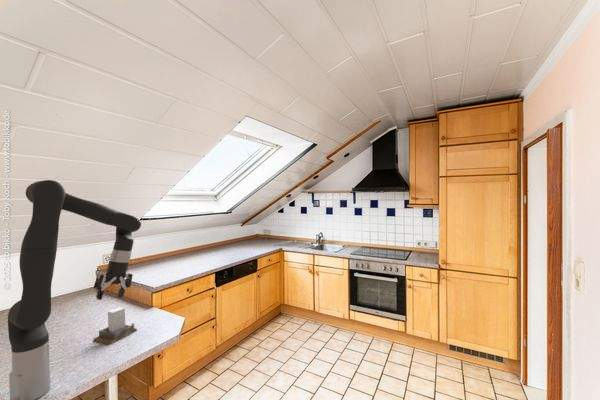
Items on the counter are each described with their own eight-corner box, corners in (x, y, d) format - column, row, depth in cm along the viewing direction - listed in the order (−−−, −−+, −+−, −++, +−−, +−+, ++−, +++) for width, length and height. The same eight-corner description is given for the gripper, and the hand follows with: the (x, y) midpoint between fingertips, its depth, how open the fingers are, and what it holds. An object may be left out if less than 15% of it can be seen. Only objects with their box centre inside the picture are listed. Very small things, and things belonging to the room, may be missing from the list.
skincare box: (121, 330, 137) (120, 306, 137) (126, 331, 135) (125, 308, 135) (108, 335, 132) (107, 311, 132) (113, 337, 130) (112, 312, 130)
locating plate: (108, 344, 125) (108, 336, 125) (93, 340, 129) (93, 332, 129) (136, 330, 139) (136, 322, 138) (122, 327, 143) (121, 319, 142)
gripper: (107, 261, 111) (97, 302, 108) (140, 262, 124) (131, 298, 121) (97, 258, 114) (86, 298, 112) (129, 259, 127) (120, 295, 124)
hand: (109, 298), depth 116 cm, fingers open, 8 cm apart
